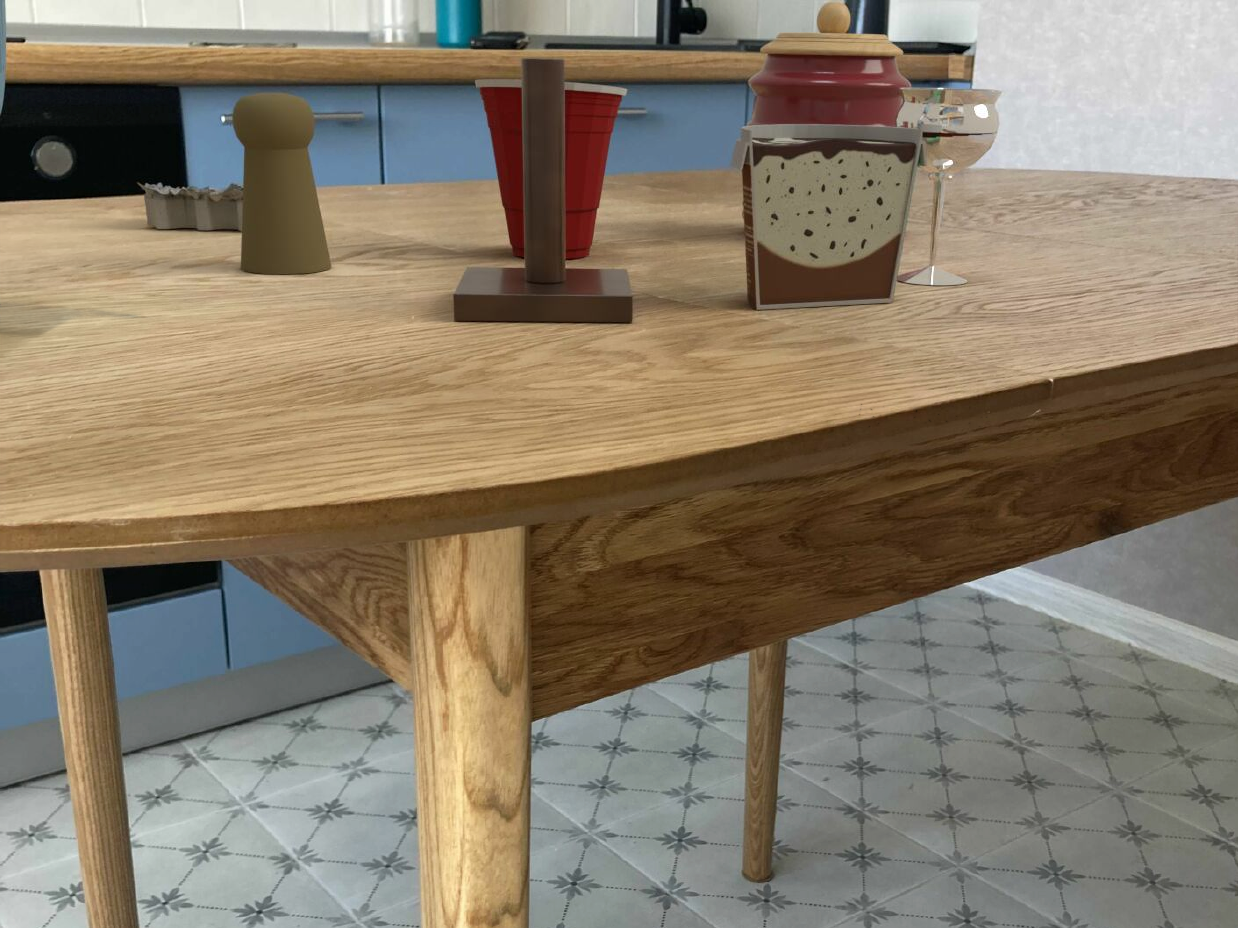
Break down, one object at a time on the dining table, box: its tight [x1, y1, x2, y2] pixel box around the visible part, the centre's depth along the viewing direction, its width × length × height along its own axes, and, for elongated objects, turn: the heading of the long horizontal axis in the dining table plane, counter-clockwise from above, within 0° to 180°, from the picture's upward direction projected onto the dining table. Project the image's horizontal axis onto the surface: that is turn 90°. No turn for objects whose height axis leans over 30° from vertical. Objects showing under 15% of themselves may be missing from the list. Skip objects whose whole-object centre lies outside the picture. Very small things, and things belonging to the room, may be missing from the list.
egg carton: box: [136, 182, 243, 233], centre depth 111 cm, size 11×8×4 cm
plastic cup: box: [474, 78, 628, 260], centre depth 98 cm, size 11×11×12 cm
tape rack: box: [452, 57, 634, 324], centre depth 78 cm, size 10×10×14 cm
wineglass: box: [894, 87, 1003, 286], centre depth 90 cm, size 7×7×12 cm
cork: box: [231, 92, 332, 275], centre depth 90 cm, size 6×6×11 cm
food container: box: [730, 124, 927, 311], centre depth 83 cm, size 12×6×10 cm, turn 111°
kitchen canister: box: [741, 1, 912, 232], centre depth 110 cm, size 13×13×18 cm
